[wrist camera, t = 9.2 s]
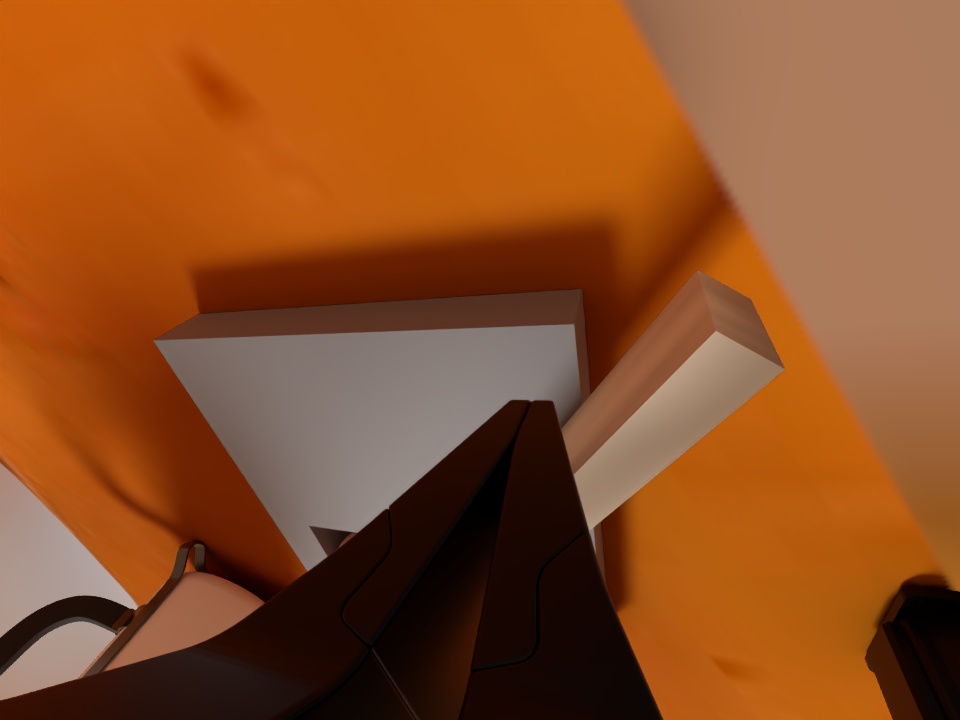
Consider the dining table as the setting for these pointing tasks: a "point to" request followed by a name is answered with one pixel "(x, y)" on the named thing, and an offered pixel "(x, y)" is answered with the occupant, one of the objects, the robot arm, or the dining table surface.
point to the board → (371, 395)
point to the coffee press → (144, 617)
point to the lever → (668, 392)
